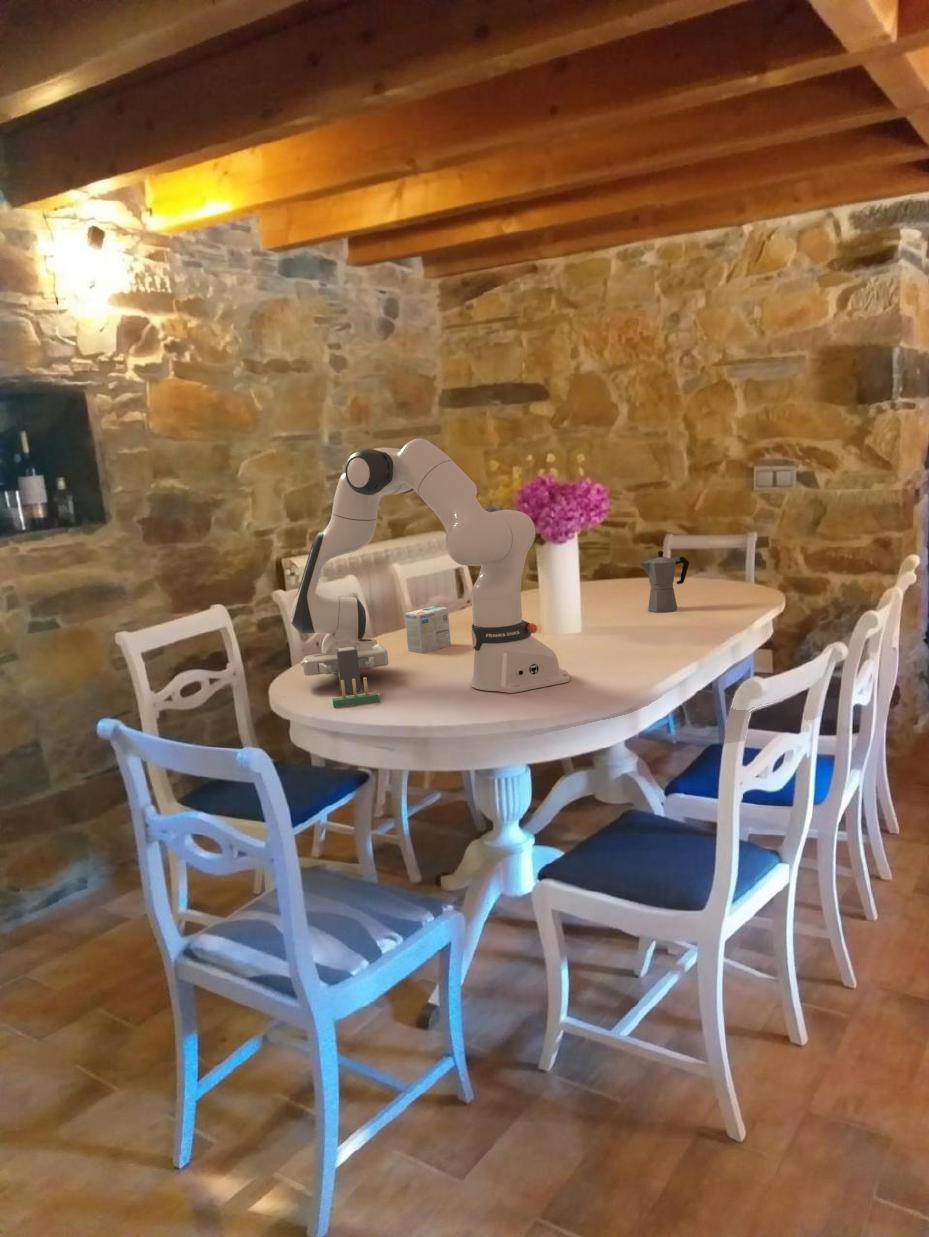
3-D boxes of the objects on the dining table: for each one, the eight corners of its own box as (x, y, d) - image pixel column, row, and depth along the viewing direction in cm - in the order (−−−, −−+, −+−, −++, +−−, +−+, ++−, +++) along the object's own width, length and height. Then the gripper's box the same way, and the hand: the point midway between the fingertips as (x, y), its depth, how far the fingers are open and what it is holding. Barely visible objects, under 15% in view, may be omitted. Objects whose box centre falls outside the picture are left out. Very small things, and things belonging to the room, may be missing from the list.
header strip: (377, 699, 208) (375, 675, 207) (379, 701, 206) (376, 677, 205) (333, 705, 206) (330, 681, 205) (333, 707, 204) (331, 683, 203)
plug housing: (359, 688, 219) (355, 645, 217) (361, 692, 215) (357, 649, 213) (340, 690, 218) (335, 648, 216) (341, 694, 214) (337, 651, 212)
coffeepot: (647, 614, 278) (645, 554, 275) (636, 609, 287) (634, 551, 284) (696, 609, 281) (694, 549, 277) (683, 604, 290) (682, 546, 286)
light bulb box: (435, 643, 262) (432, 605, 260) (452, 645, 257) (449, 607, 255) (406, 651, 254) (403, 612, 252) (423, 653, 250) (419, 614, 247)
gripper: (298, 648, 227) (301, 660, 213) (381, 638, 231) (390, 649, 218) (301, 673, 228) (304, 687, 215) (384, 663, 232) (392, 675, 219)
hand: (348, 668), depth 216 cm, fingers open, 8 cm apart
